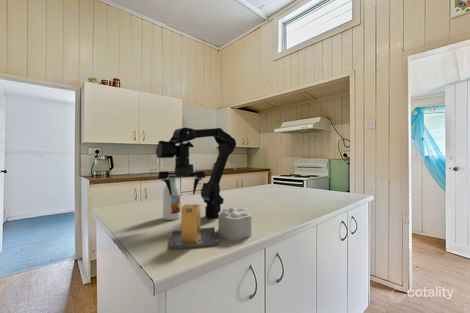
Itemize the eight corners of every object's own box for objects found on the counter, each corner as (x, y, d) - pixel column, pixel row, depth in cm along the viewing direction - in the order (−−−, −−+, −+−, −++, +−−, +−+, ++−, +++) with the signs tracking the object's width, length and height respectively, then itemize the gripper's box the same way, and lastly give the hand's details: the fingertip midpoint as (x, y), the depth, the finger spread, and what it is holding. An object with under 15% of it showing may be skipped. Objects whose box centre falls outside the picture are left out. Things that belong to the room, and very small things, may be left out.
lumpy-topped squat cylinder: (231, 241, 73) (231, 215, 73) (211, 231, 84) (211, 208, 84) (255, 235, 79) (255, 210, 79) (234, 225, 90) (233, 204, 90)
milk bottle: (164, 221, 96) (164, 175, 96) (161, 217, 103) (161, 174, 103) (182, 219, 100) (181, 174, 100) (178, 215, 107) (178, 173, 107)
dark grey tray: (214, 232, 82) (214, 227, 82) (218, 245, 70) (218, 239, 70) (172, 236, 78) (172, 230, 78) (169, 250, 67) (169, 243, 67)
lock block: (186, 237, 74) (185, 204, 74) (200, 237, 73) (200, 204, 73) (181, 242, 70) (181, 207, 70) (196, 242, 69) (196, 207, 69)
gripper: (156, 158, 83) (156, 199, 83) (206, 158, 87) (206, 197, 87) (159, 158, 94) (159, 194, 94) (204, 157, 98) (204, 193, 98)
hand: (182, 195), depth 93 cm, fingers open, 9 cm apart
